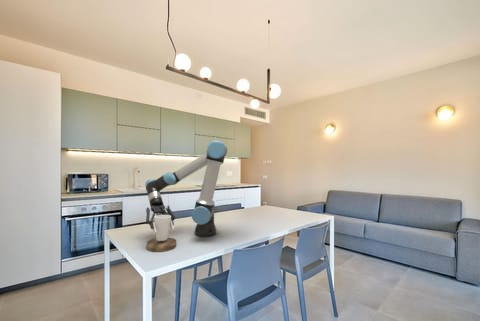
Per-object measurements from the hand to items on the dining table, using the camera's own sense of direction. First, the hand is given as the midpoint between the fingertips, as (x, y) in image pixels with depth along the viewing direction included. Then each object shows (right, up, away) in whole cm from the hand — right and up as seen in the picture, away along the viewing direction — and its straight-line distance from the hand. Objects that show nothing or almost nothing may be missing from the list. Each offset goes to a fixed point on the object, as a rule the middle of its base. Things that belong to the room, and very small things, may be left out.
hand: (164, 231), depth 127 cm
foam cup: (-2, -5, +2) cm, 6 cm away
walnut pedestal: (-2, -9, +2) cm, 10 cm away
